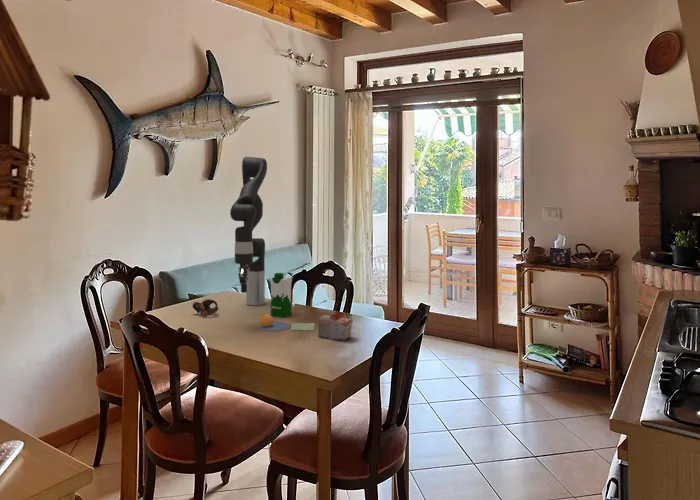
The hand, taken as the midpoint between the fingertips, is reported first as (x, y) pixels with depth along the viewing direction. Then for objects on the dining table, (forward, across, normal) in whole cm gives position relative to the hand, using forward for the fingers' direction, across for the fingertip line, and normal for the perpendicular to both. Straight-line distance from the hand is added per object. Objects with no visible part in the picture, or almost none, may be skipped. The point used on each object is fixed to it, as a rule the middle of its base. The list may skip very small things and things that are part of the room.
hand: (244, 292), depth 219 cm
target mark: (+15, 0, -13) cm, 20 cm away
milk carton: (+15, +19, -14) cm, 28 cm away
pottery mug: (+15, +18, +21) cm, 31 cm away
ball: (+12, 0, -10) cm, 16 cm away
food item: (+15, -14, -39) cm, 44 cm away
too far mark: (+15, 0, -25) cm, 29 cm away
